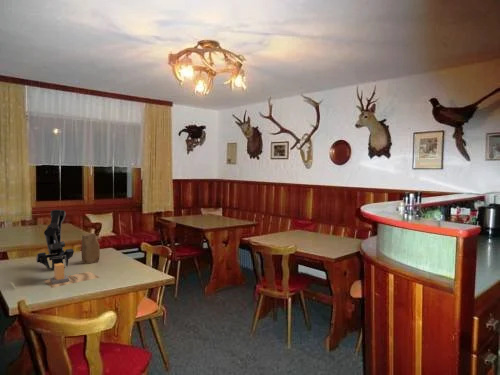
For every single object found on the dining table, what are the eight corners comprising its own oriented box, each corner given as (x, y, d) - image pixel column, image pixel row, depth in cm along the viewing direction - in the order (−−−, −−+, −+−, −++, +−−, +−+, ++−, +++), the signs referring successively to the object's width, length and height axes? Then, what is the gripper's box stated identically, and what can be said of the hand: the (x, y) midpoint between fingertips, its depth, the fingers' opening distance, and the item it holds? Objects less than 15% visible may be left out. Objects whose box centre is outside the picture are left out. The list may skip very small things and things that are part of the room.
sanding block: (53, 284, 198) (52, 267, 197) (50, 281, 203) (49, 264, 202) (68, 281, 203) (68, 264, 202) (65, 278, 208) (64, 261, 207)
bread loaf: (84, 264, 240) (83, 235, 239) (81, 262, 246) (80, 233, 245) (100, 262, 247) (100, 233, 246) (97, 259, 253) (96, 232, 252)
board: (51, 289, 193) (51, 287, 193) (43, 282, 204) (43, 280, 204) (99, 279, 211) (99, 277, 211) (89, 273, 222) (89, 271, 222)
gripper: (36, 239, 200) (41, 262, 192) (72, 235, 212) (78, 257, 205) (34, 250, 206) (39, 273, 199) (69, 246, 219) (74, 267, 211)
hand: (58, 267), depth 203 cm, fingers open, 9 cm apart
